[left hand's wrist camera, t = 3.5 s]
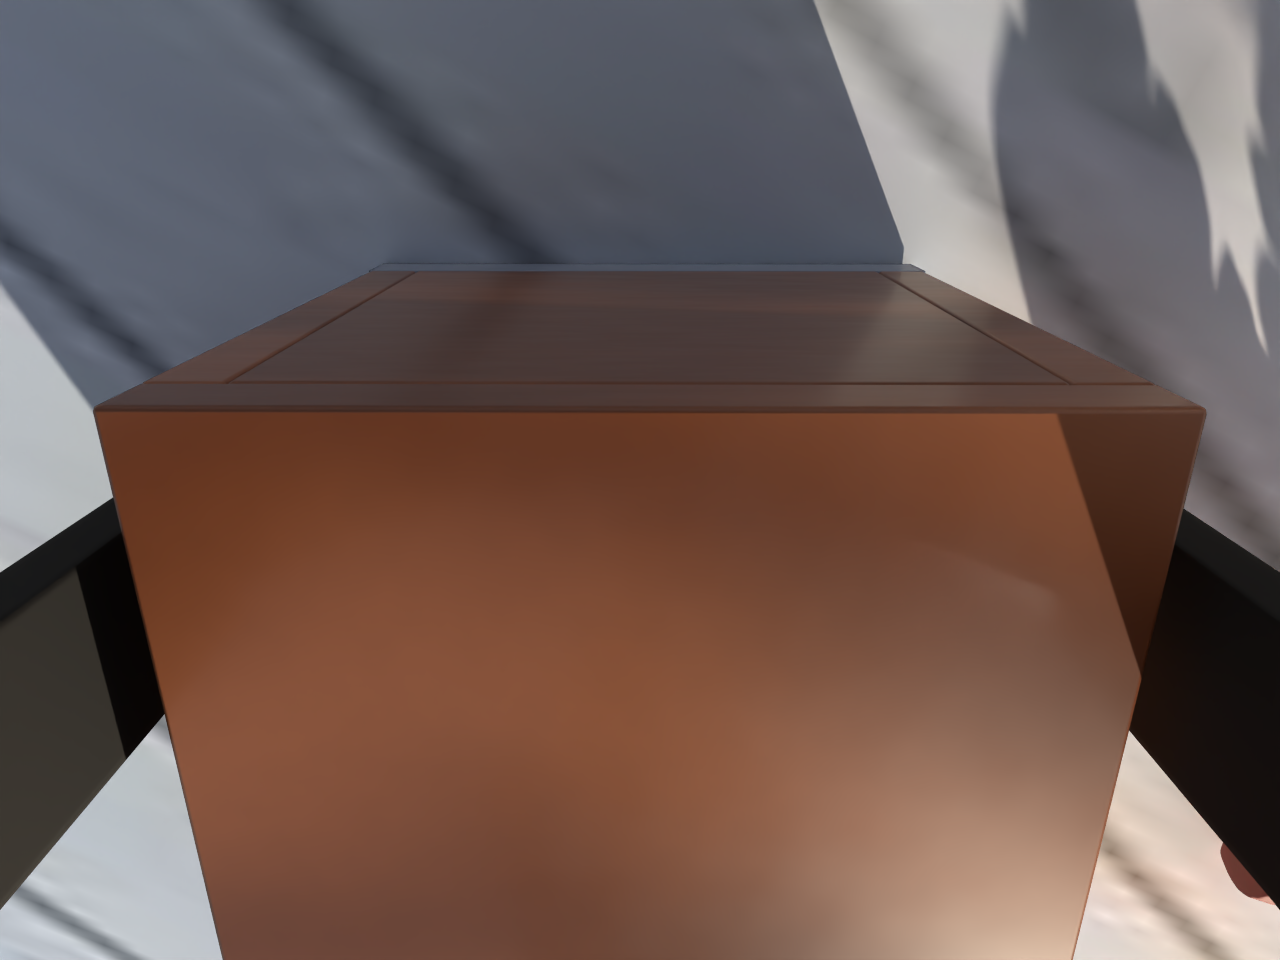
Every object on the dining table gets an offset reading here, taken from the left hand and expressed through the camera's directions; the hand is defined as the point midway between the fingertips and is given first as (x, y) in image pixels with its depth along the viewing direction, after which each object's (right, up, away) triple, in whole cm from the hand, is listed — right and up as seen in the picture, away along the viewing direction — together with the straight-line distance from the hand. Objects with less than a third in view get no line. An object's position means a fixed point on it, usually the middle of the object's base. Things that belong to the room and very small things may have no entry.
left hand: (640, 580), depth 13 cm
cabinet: (0, -1, +9) cm, 9 cm away
